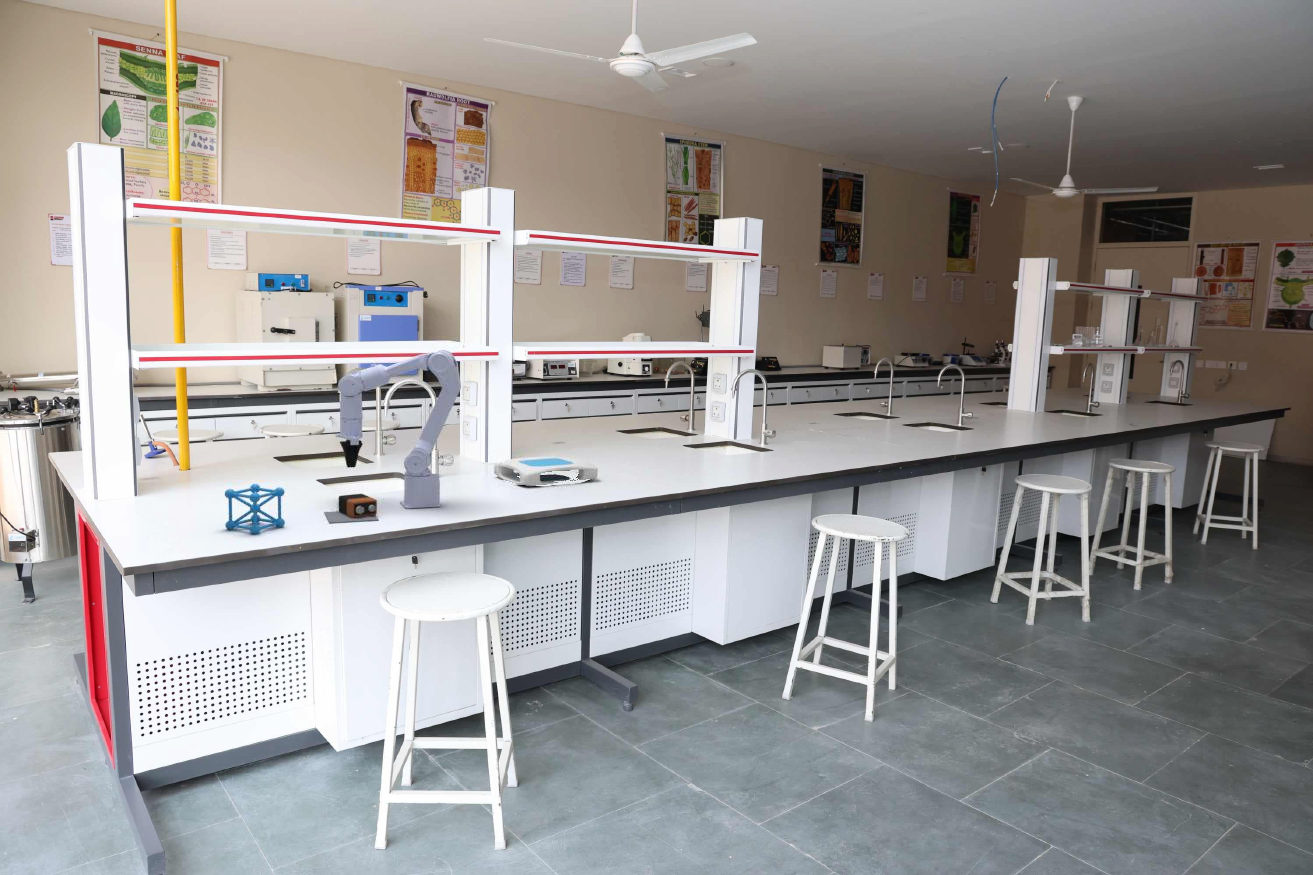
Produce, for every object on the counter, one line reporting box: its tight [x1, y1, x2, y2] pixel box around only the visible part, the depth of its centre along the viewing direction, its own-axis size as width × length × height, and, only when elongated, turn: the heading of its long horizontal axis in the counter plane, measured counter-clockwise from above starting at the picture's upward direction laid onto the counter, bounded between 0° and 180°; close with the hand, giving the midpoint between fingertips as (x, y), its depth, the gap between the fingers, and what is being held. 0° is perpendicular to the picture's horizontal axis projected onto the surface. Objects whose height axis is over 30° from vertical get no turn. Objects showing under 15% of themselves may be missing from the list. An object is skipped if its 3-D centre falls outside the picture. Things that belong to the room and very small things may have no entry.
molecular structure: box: [224, 483, 286, 535], centre depth 213 cm, size 10×10×10 cm
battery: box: [338, 493, 378, 518], centre depth 231 cm, size 4×7×10 cm
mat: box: [323, 510, 379, 524], centre depth 229 cm, size 12×12×1 cm
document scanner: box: [493, 455, 599, 487], centre depth 293 cm, size 21×28×6 cm
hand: (351, 467), depth 243 cm, fingers closed
